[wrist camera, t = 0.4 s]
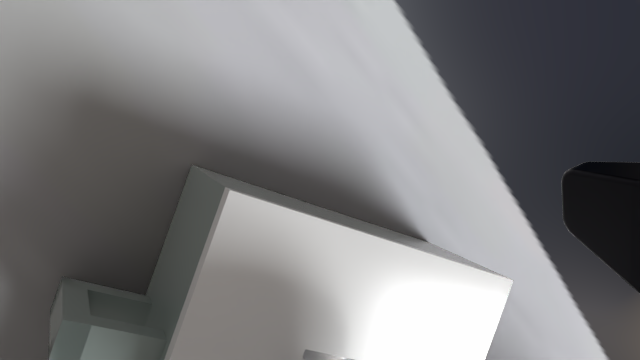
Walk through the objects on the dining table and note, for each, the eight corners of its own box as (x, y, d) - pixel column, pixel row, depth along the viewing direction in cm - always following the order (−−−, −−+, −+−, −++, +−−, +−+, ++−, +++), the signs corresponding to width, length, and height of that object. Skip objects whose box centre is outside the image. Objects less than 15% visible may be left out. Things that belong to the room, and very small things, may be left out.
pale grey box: (344, 476, 27) (409, 567, 22) (3, 436, 21) (-14, 547, 16) (429, 242, 27) (513, 280, 22) (109, 137, 21) (124, 156, 16)
